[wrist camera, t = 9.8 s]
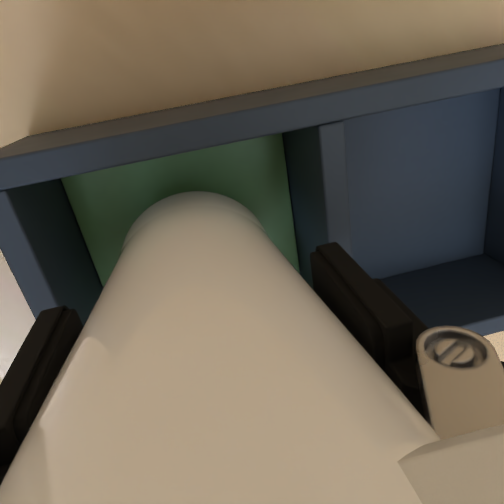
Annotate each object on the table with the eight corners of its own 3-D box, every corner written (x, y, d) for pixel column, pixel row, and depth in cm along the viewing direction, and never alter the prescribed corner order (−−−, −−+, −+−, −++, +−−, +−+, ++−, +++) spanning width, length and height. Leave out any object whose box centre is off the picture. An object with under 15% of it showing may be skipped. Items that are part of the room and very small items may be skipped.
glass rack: (25, 136, 14) (-42, 166, 10) (511, 41, 16) (644, 30, 12) (114, 351, 19) (95, 440, 14) (487, 258, 21) (577, 311, 16)
